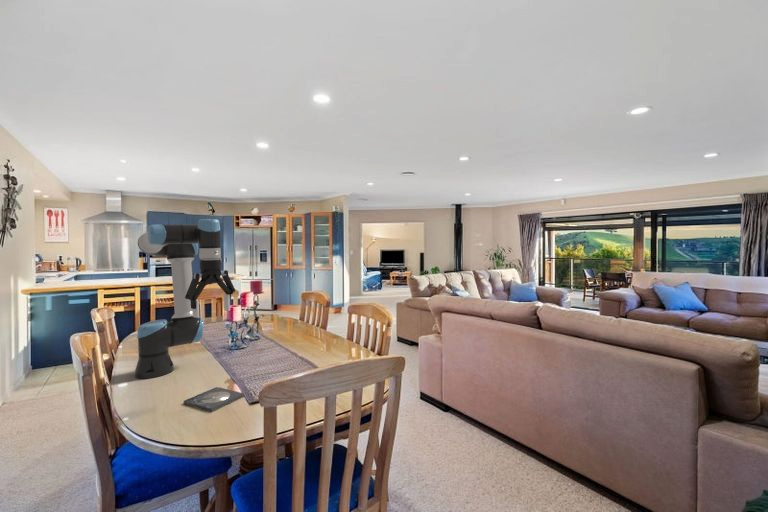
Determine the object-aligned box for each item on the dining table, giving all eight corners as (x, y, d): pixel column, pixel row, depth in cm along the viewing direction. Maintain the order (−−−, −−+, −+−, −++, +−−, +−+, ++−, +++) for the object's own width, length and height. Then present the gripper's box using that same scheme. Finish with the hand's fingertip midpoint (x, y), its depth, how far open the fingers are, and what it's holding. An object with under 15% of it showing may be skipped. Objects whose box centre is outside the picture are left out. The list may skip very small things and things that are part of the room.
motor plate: (183, 403, 136) (183, 400, 136) (216, 389, 148) (216, 386, 148) (211, 412, 129) (211, 408, 129) (244, 396, 141) (244, 393, 141)
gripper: (185, 261, 130) (188, 321, 131) (243, 257, 152) (245, 308, 153) (172, 261, 134) (175, 319, 135) (230, 257, 155) (232, 307, 157)
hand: (212, 313), depth 144 cm, fingers open, 13 cm apart
